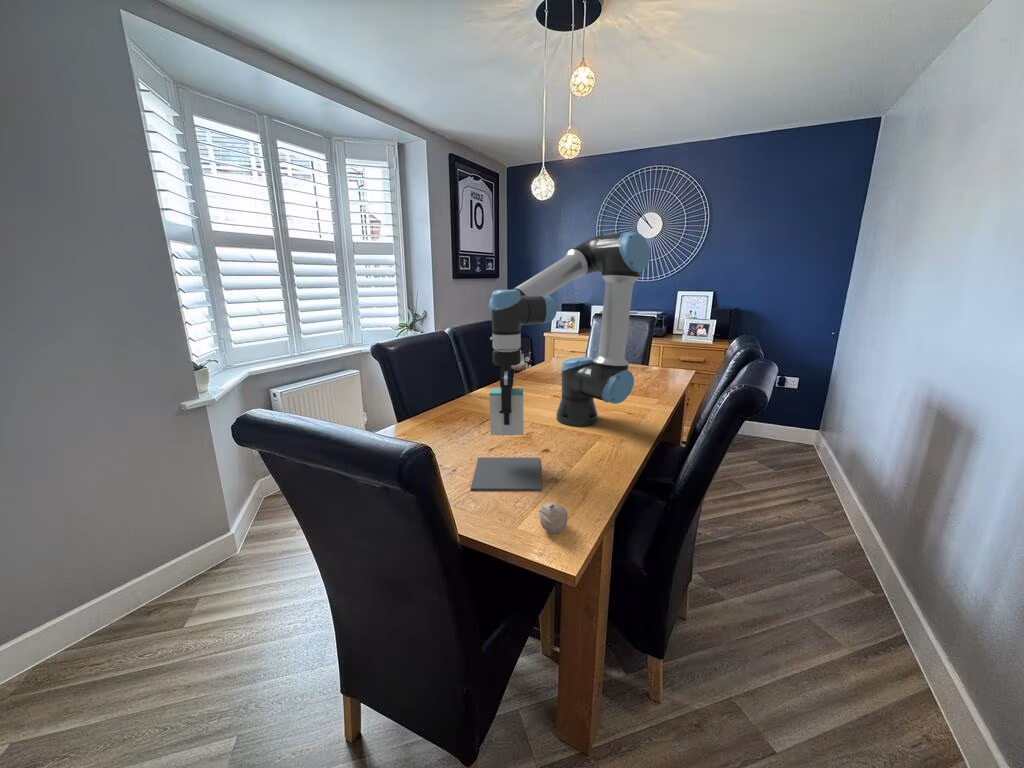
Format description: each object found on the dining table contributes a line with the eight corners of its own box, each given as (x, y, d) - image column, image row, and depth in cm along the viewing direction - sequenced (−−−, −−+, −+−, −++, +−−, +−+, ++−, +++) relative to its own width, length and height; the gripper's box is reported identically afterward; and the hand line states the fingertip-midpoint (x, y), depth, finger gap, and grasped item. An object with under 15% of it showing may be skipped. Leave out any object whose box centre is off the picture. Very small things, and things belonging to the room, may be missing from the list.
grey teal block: (523, 428, 118) (523, 388, 115) (523, 435, 114) (523, 393, 111) (492, 428, 119) (491, 388, 116) (490, 435, 114) (489, 393, 111)
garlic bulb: (532, 530, 89) (532, 497, 86) (550, 517, 93) (550, 485, 91) (557, 543, 84) (558, 508, 82) (574, 528, 89) (575, 495, 87)
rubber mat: (539, 459, 122) (539, 457, 121) (541, 490, 104) (541, 488, 104) (478, 459, 122) (478, 457, 122) (470, 490, 105) (470, 488, 105)
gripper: (494, 343, 119) (496, 419, 125) (489, 355, 101) (491, 443, 108) (520, 343, 119) (521, 419, 125) (520, 355, 101) (520, 443, 107)
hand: (507, 430), depth 116 cm, fingers closed on grey teal block, 5 cm apart
